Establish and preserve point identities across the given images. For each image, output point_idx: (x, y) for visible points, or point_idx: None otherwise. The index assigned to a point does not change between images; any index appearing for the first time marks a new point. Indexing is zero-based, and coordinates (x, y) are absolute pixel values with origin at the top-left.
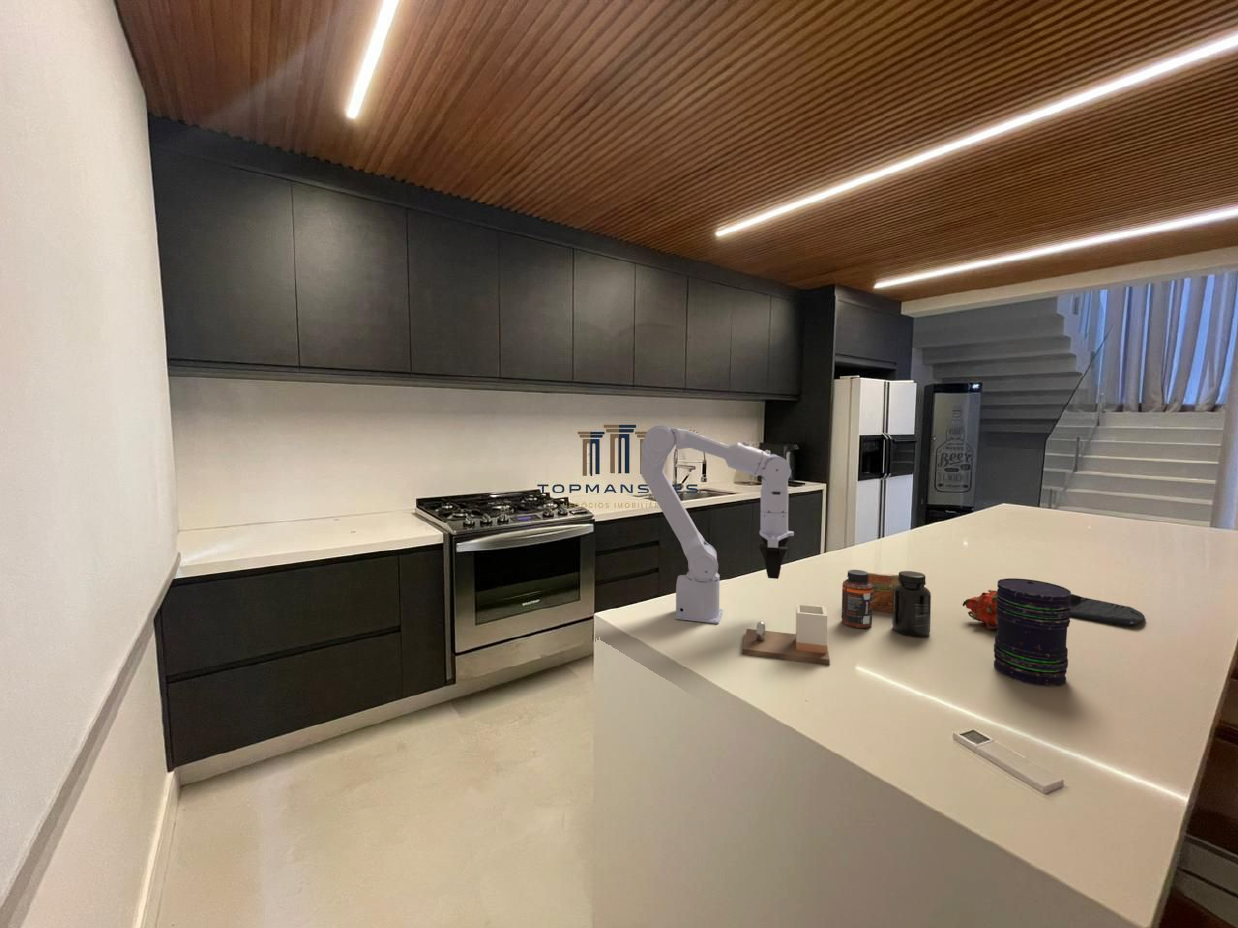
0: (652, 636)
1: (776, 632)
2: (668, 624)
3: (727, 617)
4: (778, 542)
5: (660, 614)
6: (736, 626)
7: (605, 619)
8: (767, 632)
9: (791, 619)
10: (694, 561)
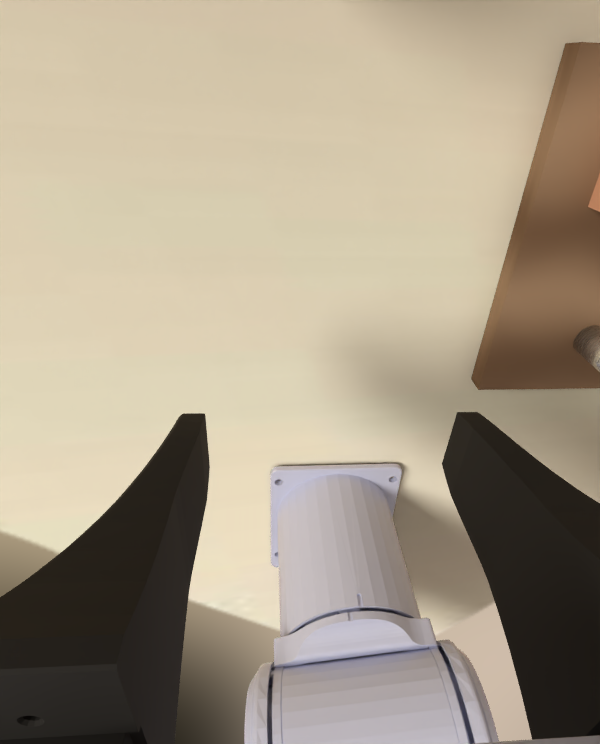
0: None
1: (515, 286)
2: (418, 560)
3: (324, 445)
4: (156, 650)
5: None
6: (407, 412)
7: None
8: (513, 319)
9: (276, 210)
10: None
